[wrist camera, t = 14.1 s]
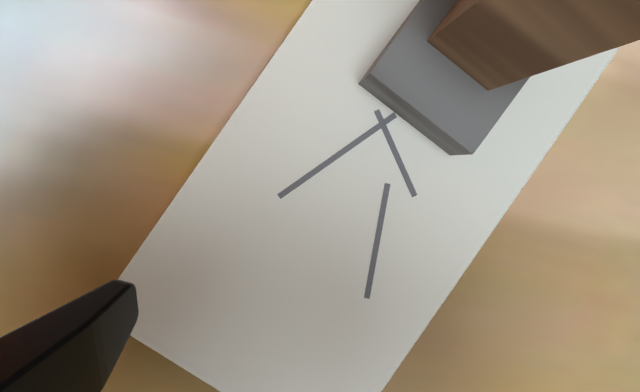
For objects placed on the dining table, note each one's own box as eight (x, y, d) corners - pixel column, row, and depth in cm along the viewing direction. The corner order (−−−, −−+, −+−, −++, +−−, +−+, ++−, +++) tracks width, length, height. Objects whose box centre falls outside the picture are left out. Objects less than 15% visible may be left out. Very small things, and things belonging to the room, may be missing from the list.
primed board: (328, 443, 24) (332, 462, 22) (105, 303, 22) (93, 313, 21) (597, 55, 24) (619, 48, 22) (392, -108, 22) (401, -128, 21)
